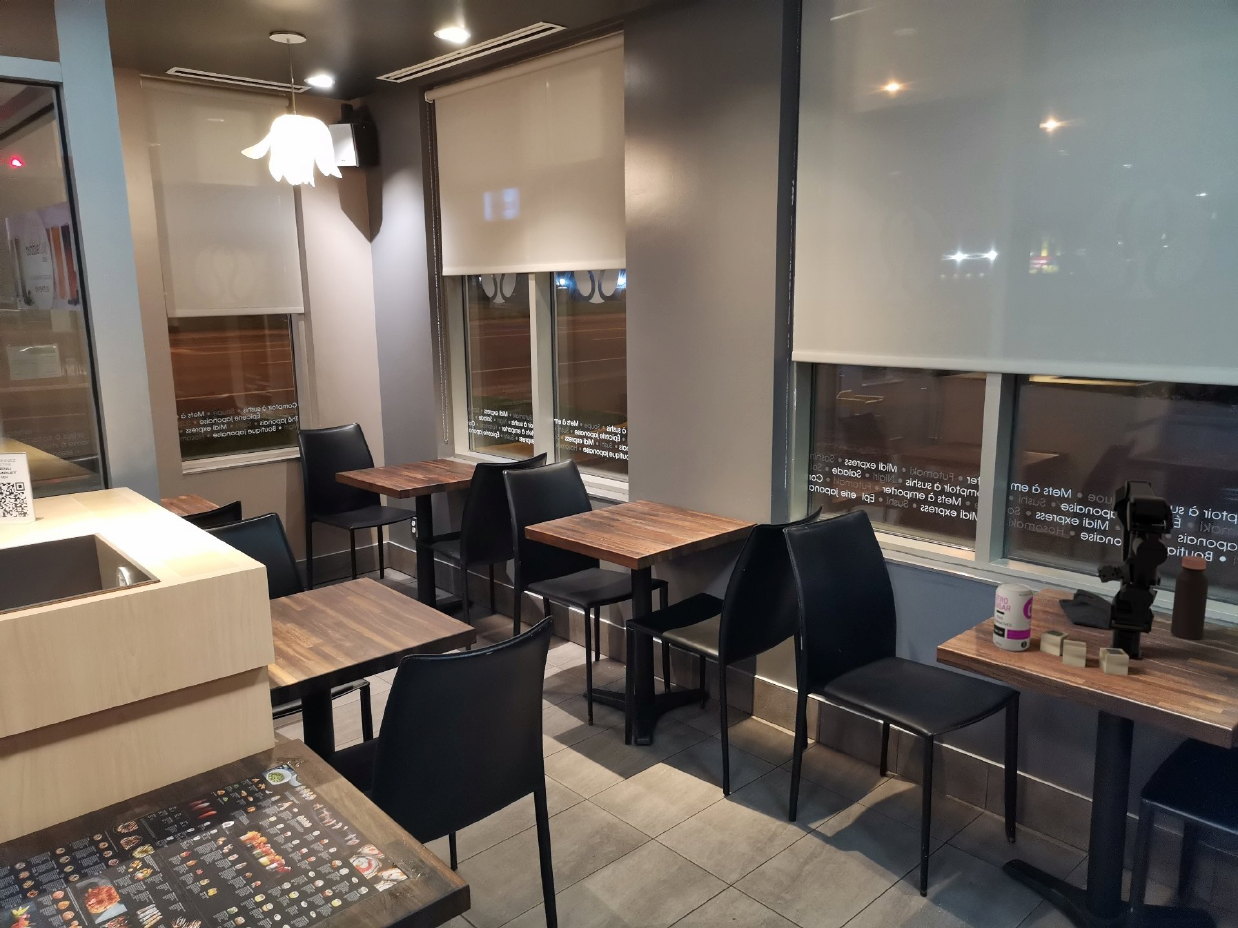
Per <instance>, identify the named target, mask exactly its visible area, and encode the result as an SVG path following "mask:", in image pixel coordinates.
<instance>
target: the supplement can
mask: <svg viewBox="0 0 1238 928" xmlns="http://www.w3.org/2000/svg"><path fill="white" fill-rule="evenodd" d="M1033 600H1034V592H1032V589H1031V587H1030V586H1028V585H1026V584H1024V583H1020V582H1001V583H1000V584H999V585H998V587H997V588H996V590H995V600H994V602H995V603H994V604H995V605H994V614H993V616H994V618H993V632H992V642H993V644H994V645H995V646H996V647H997V648H1000V649H1002V650H1006V651H1010V652H1021V651H1026V650H1027V649H1028V648H1029V647H1030V643H1031V631H1032V617H1033V604H1034V603H1033Z"/></svg>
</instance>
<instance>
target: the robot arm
mask: <svg viewBox="0 0 1238 928" xmlns="http://www.w3.org/2000/svg"><path fill="white" fill-rule="evenodd" d="M1111 511H1112V512H1113V513H1114V521H1115V523H1116V525H1117V526H1118V527H1119V529H1120V531H1121V539H1120V540H1121V543H1120V546H1121V547H1120V548H1121V550H1120V561H1116V562H1111V563H1110V562H1109V563H1104V564H1100V565H1099V566H1098V567H1097V568H1096V569H1097V570H1096V571H1097V573H1098V574H1097V577H1098V578H1099V580H1100V582H1101V583H1102V584H1105V583H1108V582H1115V581H1118V580H1119V581H1120V583H1119V585H1120V586H1119V589H1118V591H1117V593H1116V594H1115V596H1114V597H1113V598H1112V602H1111V603H1112V604H1110V606H1109V609H1108V612H1107V626H1108V629H1113V631H1112V639H1111V641H1112V642H1111V644H1110V646H1109V648H1114V649H1122V650H1123V651H1124V652H1125V653H1126V654H1127V655H1128V656H1129V659H1134V660H1140V659H1141V656H1142V653H1143V649H1141V647H1140V646H1141V639H1142V633H1144V634H1148V635H1149V634H1150V633H1151V632H1152V628H1153V623H1154V619H1155V615H1154V613H1153V610H1152V608H1151V606H1152V605H1154V604H1155V603H1154V602H1155V599H1156V597H1157V594H1158V590H1156V589H1154V587H1156V586H1158V587H1159V586H1161V584H1162V574H1161V573H1160V572H1159V566H1161V565H1163V564H1164V563H1165V562H1166V561H1167V560H1168V558H1169V557H1168V556H1169V550H1168V548H1167V546H1166V545H1165V543H1164V541H1163V538H1162V537H1163V535H1171V531H1172V530H1173V529H1174V513H1173V509H1172V508H1171V505H1170V504H1169V503H1167V499H1166V498H1165V497H1160V496H1156V495H1155V492H1154V491H1153V489H1152V482H1151V481H1148V480H1144V479H1143V480H1141V479H1129V480H1126V481H1125V482H1124V485H1123V486H1121V487H1119V488H1117V489H1116V490H1115V491H1114V493H1113V497H1112V501H1111ZM1112 620H1114V621H1112Z"/></svg>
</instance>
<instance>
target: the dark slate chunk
mask: <svg viewBox="0 0 1238 928" xmlns="http://www.w3.org/2000/svg"><path fill="white" fill-rule="evenodd" d="M1058 602H1059V605H1060V607H1061V609H1062V611H1063V610H1064V611H1063V612H1064V614H1065V615H1066V617H1067V618H1068V620H1069V621H1070V622H1071V623H1073V624H1075V625H1083V626H1088V625H1089V627H1092V626H1093V627H1094V628H1096V627H1097V629H1101V628H1102V629H1103V630H1106V629H1107V630H1108V631H1111V630H1113V629H1108V626H1107V612H1108V609H1109V606H1110V604H1112V602H1109V601H1108V600H1106V599H1105V598H1104V597H1101V596H1100V595H1099V594H1095V593H1093V592H1091V591H1087V590H1084V589H1083V588H1078V589H1077V590H1076V592H1074V593H1073V597H1072V599H1068V598H1067V599H1065V598H1063V599H1059V600H1058ZM1112 621H1114V620H1112Z"/></svg>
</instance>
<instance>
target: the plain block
mask: <svg viewBox="0 0 1238 928" xmlns="http://www.w3.org/2000/svg"><path fill="white" fill-rule="evenodd" d="M1086 657H1087V643H1086V642H1083V641H1077V640H1076V641H1075V640H1070V639H1069V640H1064V646H1063V654H1062V665H1065V666H1070V665H1071V666H1072V667H1079V668H1083V669H1084V668H1086ZM1071 666H1070V667H1071Z"/></svg>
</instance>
